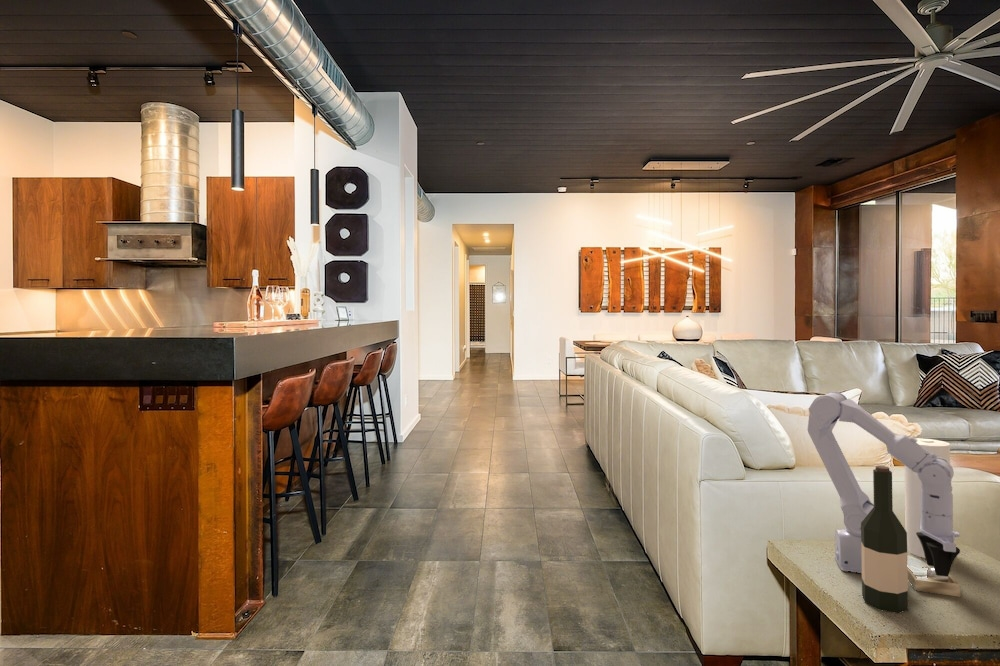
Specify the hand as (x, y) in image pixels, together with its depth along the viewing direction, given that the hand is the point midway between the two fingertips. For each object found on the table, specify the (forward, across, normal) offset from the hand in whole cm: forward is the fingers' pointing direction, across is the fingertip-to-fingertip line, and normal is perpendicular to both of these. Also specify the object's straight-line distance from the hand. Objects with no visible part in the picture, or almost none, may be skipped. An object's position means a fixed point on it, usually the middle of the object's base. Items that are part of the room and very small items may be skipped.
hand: (937, 570), depth 123 cm
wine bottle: (+4, -12, +13) cm, 18 cm away
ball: (+1, 0, 0) cm, 1 cm away
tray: (+4, 0, +1) cm, 4 cm away
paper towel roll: (+4, +21, -5) cm, 22 cm away
